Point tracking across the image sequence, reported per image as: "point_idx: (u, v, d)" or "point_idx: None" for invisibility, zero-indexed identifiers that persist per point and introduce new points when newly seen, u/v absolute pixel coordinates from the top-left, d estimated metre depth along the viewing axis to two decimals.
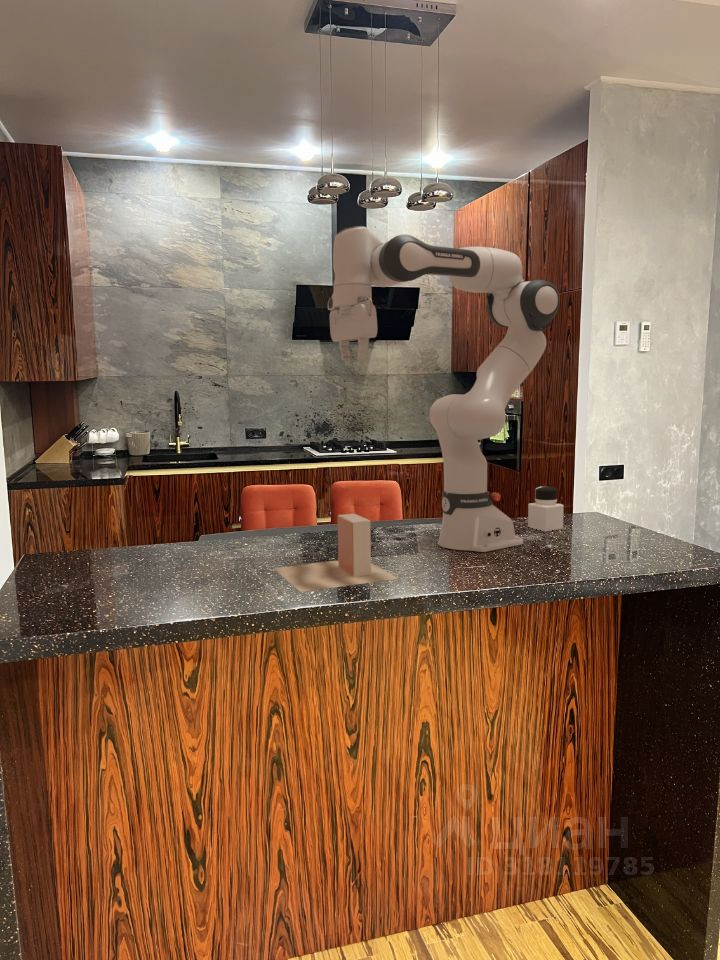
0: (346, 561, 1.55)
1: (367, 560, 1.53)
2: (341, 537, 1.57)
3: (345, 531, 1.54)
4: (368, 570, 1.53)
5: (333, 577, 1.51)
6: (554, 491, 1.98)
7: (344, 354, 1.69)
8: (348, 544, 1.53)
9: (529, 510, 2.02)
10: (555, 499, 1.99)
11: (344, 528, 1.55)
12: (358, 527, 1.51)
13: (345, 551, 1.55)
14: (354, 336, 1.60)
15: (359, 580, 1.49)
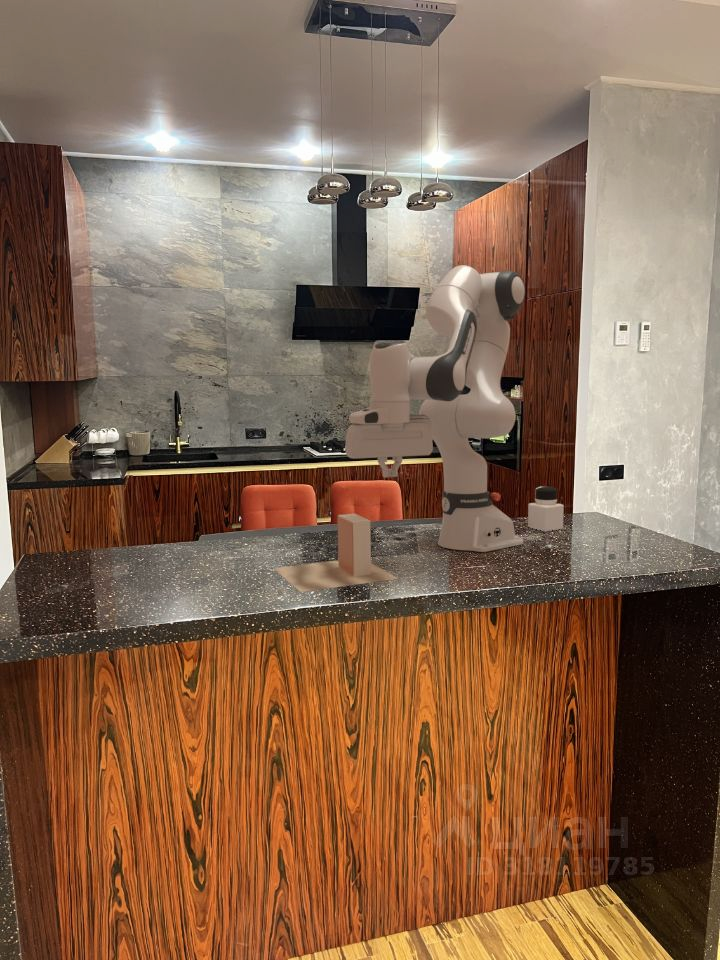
0: (346, 561, 1.55)
1: (367, 560, 1.53)
2: (341, 537, 1.57)
3: (345, 531, 1.54)
4: (368, 570, 1.53)
5: (333, 577, 1.51)
6: (554, 491, 1.98)
7: (390, 471, 1.57)
8: (348, 544, 1.53)
9: (529, 510, 2.02)
10: (555, 499, 1.99)
11: (344, 528, 1.55)
12: (358, 527, 1.51)
13: (345, 551, 1.55)
14: (412, 454, 1.57)
15: (359, 580, 1.49)
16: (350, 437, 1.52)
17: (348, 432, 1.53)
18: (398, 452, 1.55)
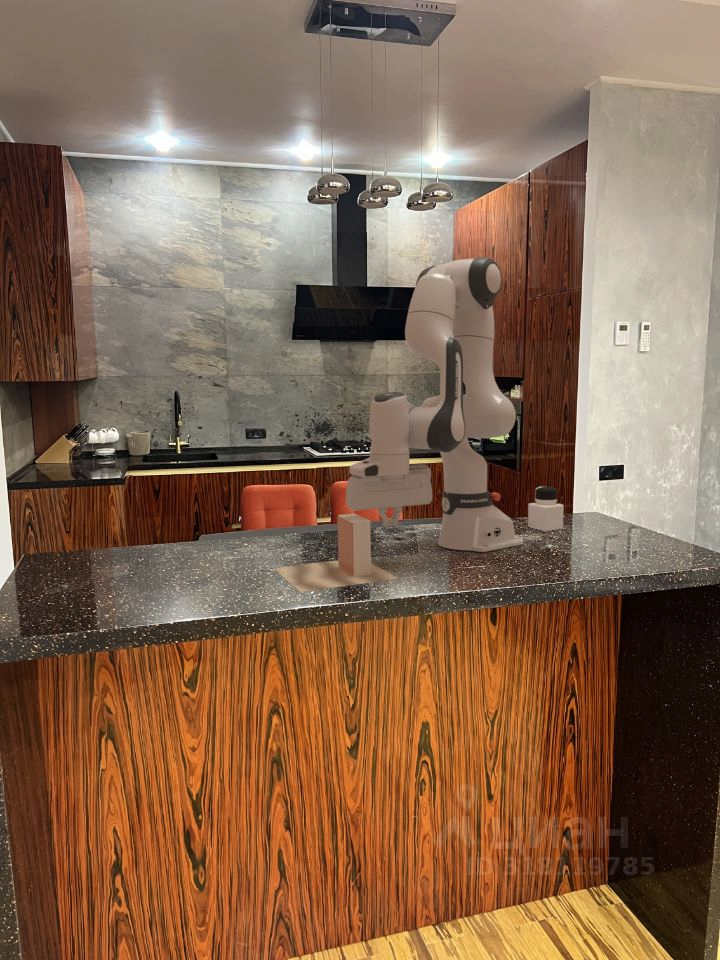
0: (346, 561, 1.55)
1: (367, 560, 1.53)
2: (341, 537, 1.57)
3: (345, 531, 1.54)
4: (368, 570, 1.53)
5: (333, 577, 1.51)
6: (554, 491, 1.98)
7: None
8: (348, 544, 1.53)
9: (529, 510, 2.02)
10: (555, 499, 1.99)
11: (344, 528, 1.55)
12: (358, 527, 1.51)
13: (345, 551, 1.55)
14: (412, 503, 1.59)
15: (359, 580, 1.49)
16: (350, 490, 1.53)
17: (349, 484, 1.55)
18: (398, 503, 1.57)
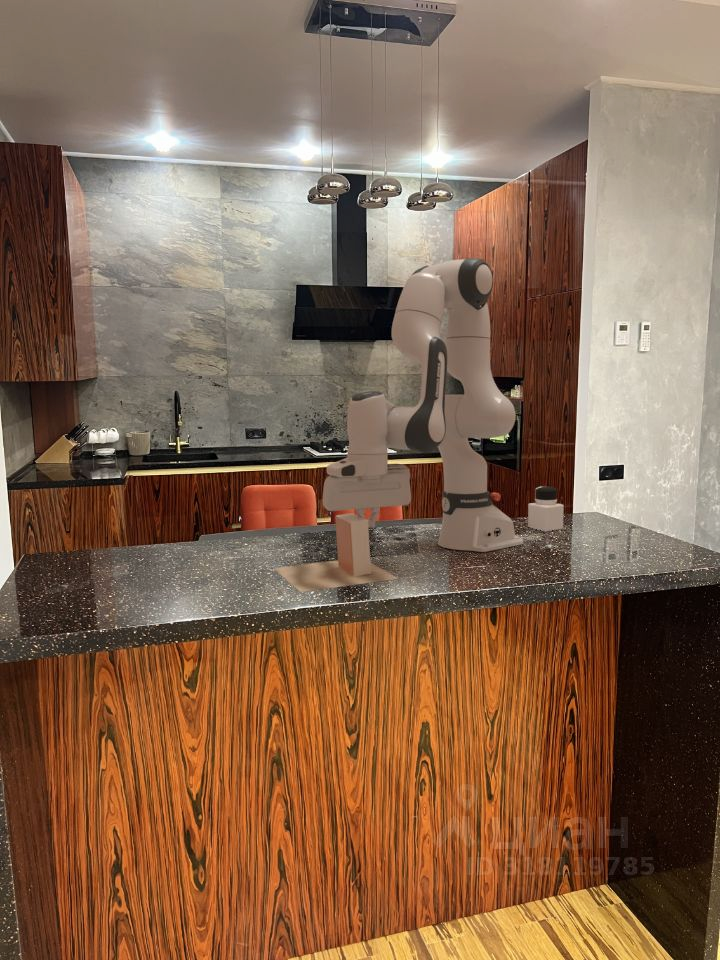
0: (346, 561, 1.55)
1: (366, 559, 1.53)
2: (340, 537, 1.57)
3: (343, 531, 1.54)
4: (368, 569, 1.53)
5: (333, 577, 1.51)
6: (554, 491, 1.98)
7: (369, 522, 1.56)
8: (347, 544, 1.53)
9: (529, 510, 2.02)
10: (555, 499, 1.99)
11: (342, 528, 1.55)
12: (356, 527, 1.51)
13: (344, 551, 1.55)
14: (390, 504, 1.56)
15: (359, 580, 1.49)
16: (327, 490, 1.51)
17: (326, 484, 1.52)
18: (376, 503, 1.55)
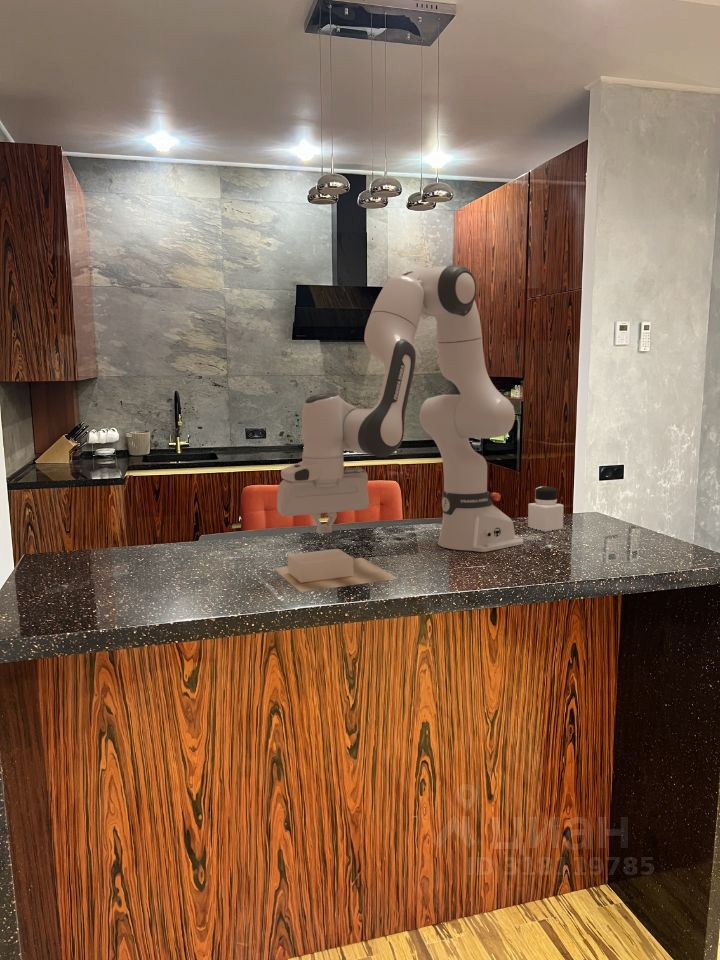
0: None
1: (339, 563, 1.50)
2: None
3: None
4: (349, 560, 1.51)
5: None
6: (554, 491, 1.98)
7: (324, 527, 1.52)
8: None
9: (529, 510, 2.02)
10: (555, 499, 1.99)
11: None
12: (306, 576, 1.48)
13: None
14: (347, 509, 1.52)
15: (359, 580, 1.49)
16: (280, 495, 1.47)
17: (279, 489, 1.48)
18: (332, 508, 1.51)
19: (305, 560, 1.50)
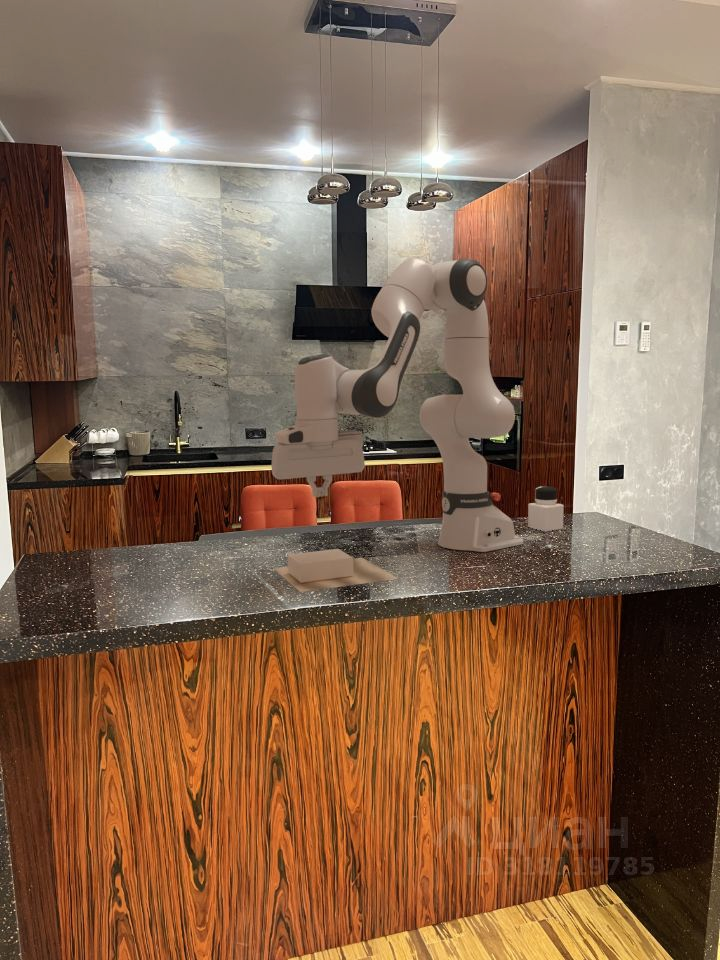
0: None
1: (339, 563, 1.50)
2: None
3: None
4: (349, 560, 1.51)
5: None
6: (554, 491, 1.98)
7: None
8: None
9: (529, 510, 2.02)
10: (555, 499, 1.99)
11: None
12: (306, 576, 1.48)
13: None
14: (343, 472, 1.51)
15: (359, 580, 1.49)
16: (275, 458, 1.46)
17: (274, 452, 1.47)
18: (327, 471, 1.50)
19: (305, 560, 1.50)
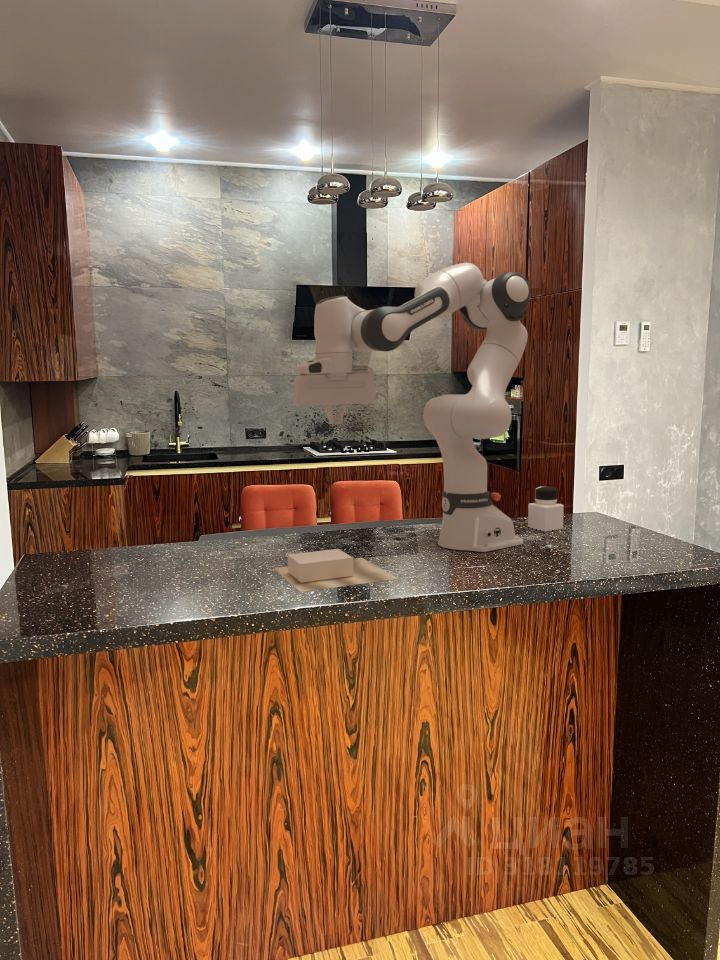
0: None
1: (339, 563, 1.50)
2: None
3: None
4: (349, 560, 1.51)
5: None
6: (554, 491, 1.98)
7: None
8: None
9: (529, 510, 2.02)
10: (555, 499, 1.99)
11: None
12: (306, 576, 1.48)
13: None
14: (356, 402, 1.69)
15: (359, 580, 1.49)
16: (296, 387, 1.64)
17: (295, 382, 1.65)
18: (342, 400, 1.68)
19: (305, 560, 1.50)
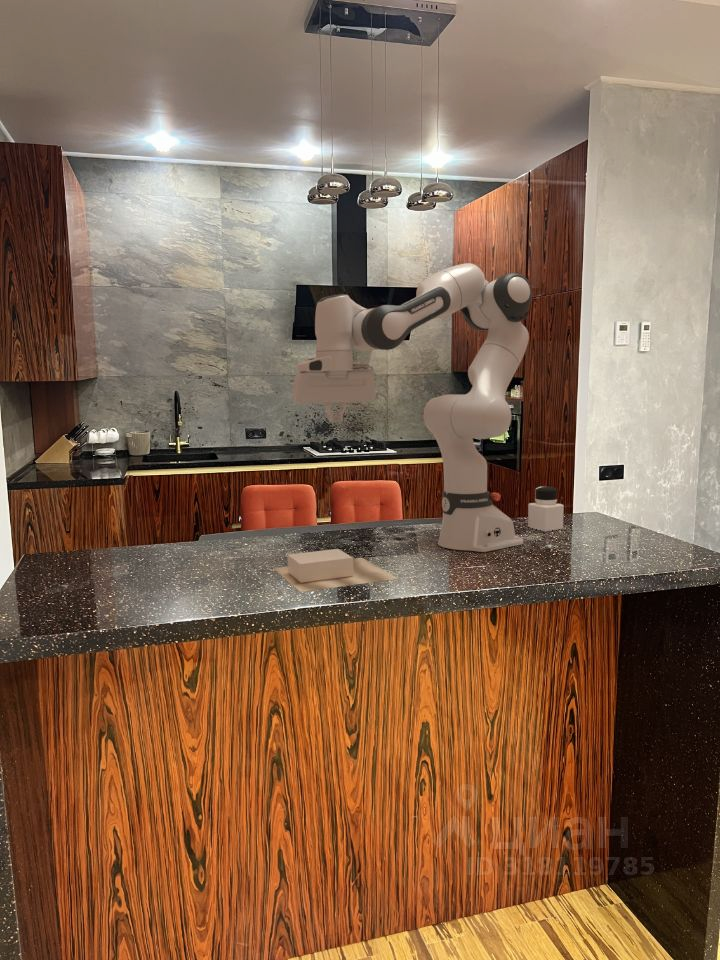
0: None
1: (339, 563, 1.50)
2: None
3: None
4: (349, 560, 1.51)
5: None
6: (554, 491, 1.98)
7: (336, 416, 1.69)
8: None
9: (529, 510, 2.02)
10: (555, 499, 1.99)
11: None
12: (306, 576, 1.48)
13: None
14: (356, 400, 1.70)
15: (359, 580, 1.49)
16: (296, 384, 1.64)
17: (295, 380, 1.66)
18: (342, 398, 1.68)
19: (305, 560, 1.50)
